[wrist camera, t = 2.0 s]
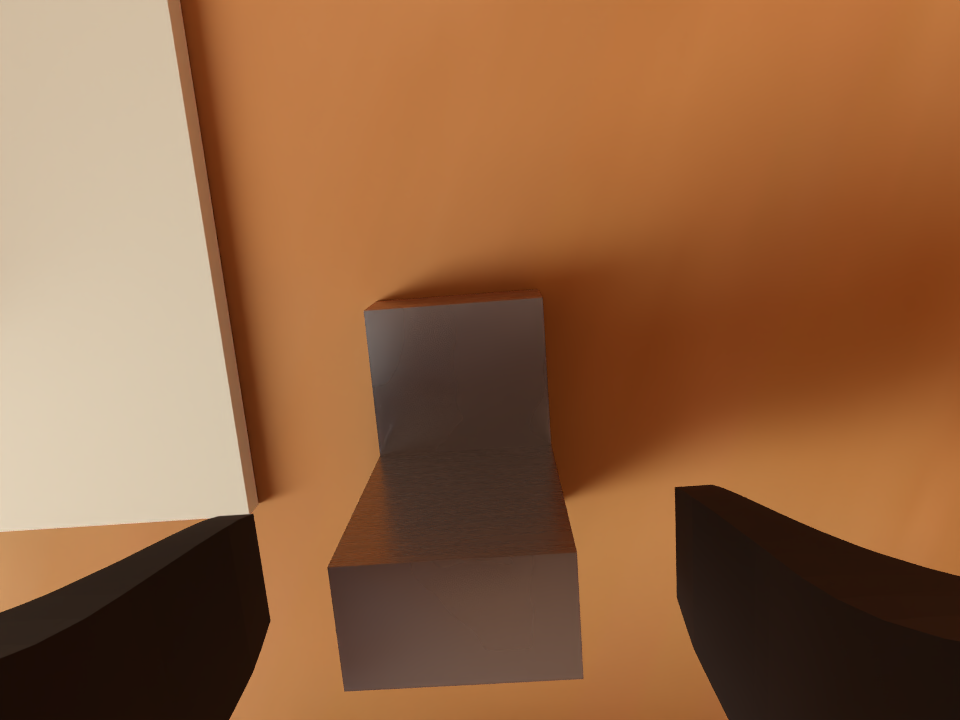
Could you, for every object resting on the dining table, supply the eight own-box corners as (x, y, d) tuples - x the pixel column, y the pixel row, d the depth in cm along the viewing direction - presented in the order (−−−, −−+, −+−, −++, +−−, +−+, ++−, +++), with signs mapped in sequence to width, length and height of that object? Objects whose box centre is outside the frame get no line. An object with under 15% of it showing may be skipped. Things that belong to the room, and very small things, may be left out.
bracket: (550, 505, 16) (583, 678, 10) (400, 514, 16) (344, 691, 10) (538, 289, 15) (565, 340, 9) (376, 301, 15) (298, 359, 9)
